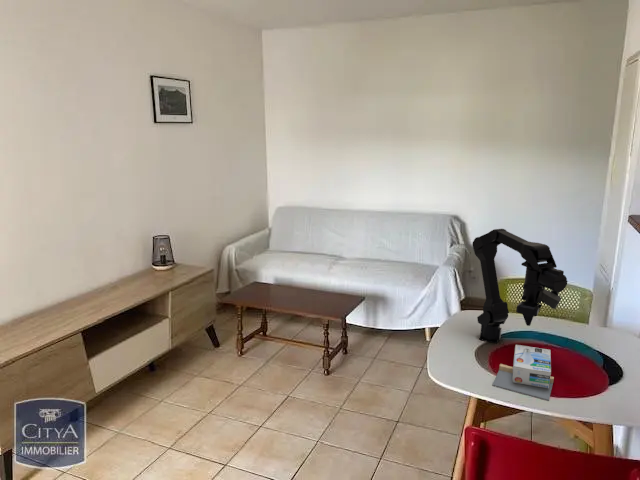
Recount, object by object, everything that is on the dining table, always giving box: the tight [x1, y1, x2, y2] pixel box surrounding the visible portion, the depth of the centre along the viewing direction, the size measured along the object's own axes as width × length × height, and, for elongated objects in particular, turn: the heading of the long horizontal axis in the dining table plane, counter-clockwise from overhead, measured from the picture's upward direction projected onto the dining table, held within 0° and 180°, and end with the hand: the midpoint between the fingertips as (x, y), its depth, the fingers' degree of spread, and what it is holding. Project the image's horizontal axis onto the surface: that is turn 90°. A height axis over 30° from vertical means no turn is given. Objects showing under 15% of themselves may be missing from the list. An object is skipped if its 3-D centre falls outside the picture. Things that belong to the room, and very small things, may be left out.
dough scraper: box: [491, 363, 555, 401], centre depth 147 cm, size 16×12×2 cm
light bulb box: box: [512, 344, 552, 388], centre depth 148 cm, size 11×7×11 cm
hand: (528, 325), depth 160 cm, fingers closed
